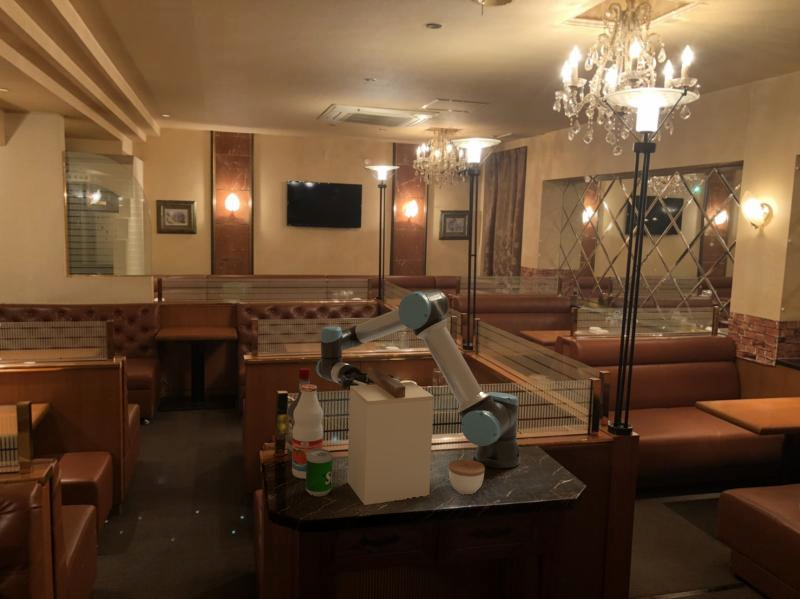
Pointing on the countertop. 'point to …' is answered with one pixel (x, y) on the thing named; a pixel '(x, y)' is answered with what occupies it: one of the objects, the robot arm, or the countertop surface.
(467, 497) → the countertop surface
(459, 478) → the lidded jar
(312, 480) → the soda can
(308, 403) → the fruit juice
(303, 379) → the liquor
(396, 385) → the dark brown wooden post
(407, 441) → the pedestal
